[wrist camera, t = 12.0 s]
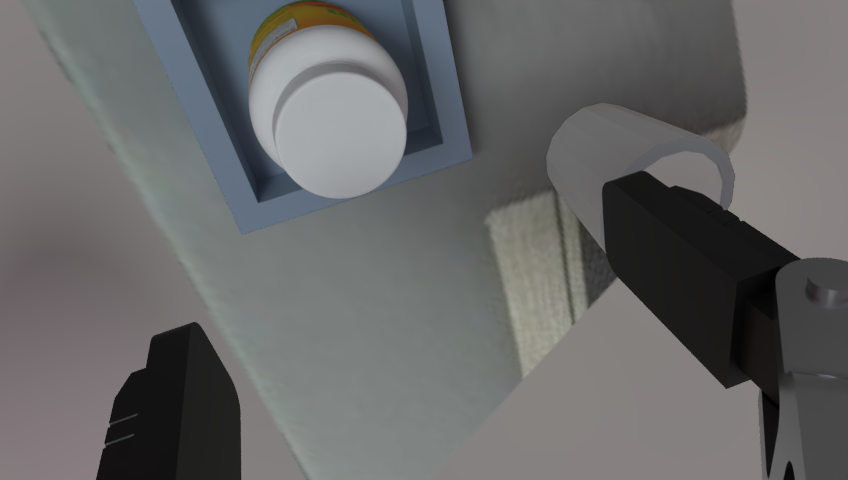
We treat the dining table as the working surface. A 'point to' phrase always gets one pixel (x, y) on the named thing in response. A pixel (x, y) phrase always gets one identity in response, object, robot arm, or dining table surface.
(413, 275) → the dining table surface
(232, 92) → the tray
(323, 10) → the supplement bottle
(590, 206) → the shot glass
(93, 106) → the dining table surface
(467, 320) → the dining table surface
